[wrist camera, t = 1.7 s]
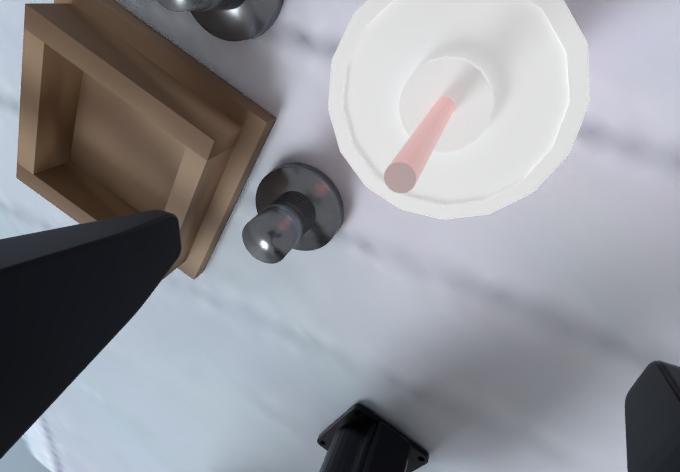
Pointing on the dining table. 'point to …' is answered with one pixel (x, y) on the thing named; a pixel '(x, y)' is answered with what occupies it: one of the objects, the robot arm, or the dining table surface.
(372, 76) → the beverage cup
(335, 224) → the knob
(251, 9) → the knob
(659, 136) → the dining table surface
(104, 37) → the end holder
